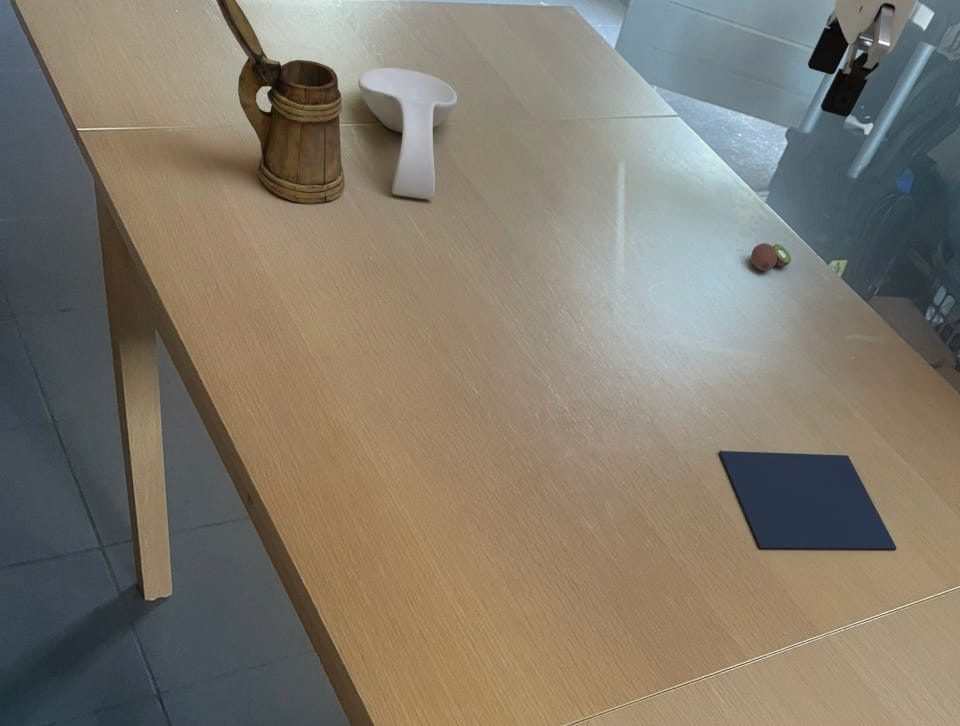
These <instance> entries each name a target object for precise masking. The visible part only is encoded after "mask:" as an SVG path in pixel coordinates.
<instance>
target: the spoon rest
mask: <svg viewBox="0 0 960 726" xmlns="http://www.w3.org/2000/svg"><path fill="white" fill-rule="evenodd" d="M357 85H358V88H359V93H360V95H361V97H362V99H363V101H364V102H365V104H366V105H367V107H368V108H369V109H370V111H371V112H372V113H373V114H374V115H375V116H376V117H377V118H378V119H379V121H380V123H382V125H383V126H384V127H386V128H387V129H389V130H391V131H394V132H396V133H400V134H402V136H401V143H400V149H399V156H398V160H397V163H396V167H395V172H394V175H393V180H392V185H391V193H392V194H393V195H395V196H398V197H399V196H401V197H408V198H414V199H421V200H432V199H434V198H435V193H436V192H435V191H436V190H435V189H436V187H435V186H436V174H435V173H436V172H435V170H436V169H435V158H434V157H435V156H434V134H433V132H434V131H433V130H434V128H435V127H437V126H438V125H440V124H441V123H442V122H444V121H445V120H446V118H448V117H449V116H450V114H451V113H452V112H453V110H454V108H455V107H456V105H457V102H458V96H457V92H456V91H455V90H454V89H453V88H452V87H451V86H450V85H449V84H448V83H447V82H445V81H443V80H441V79H440V78H438V77H437V76H436V77H435V76H433V75H431V74H427V73H424V72H422V71H421V72H420V71H416V70H411V69H405V68H398V67H397V68H396V67H377V68H371V69H368V70H365V71H364V72H362V73H361V74H360V75H359V77H358V79H357Z"/></svg>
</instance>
